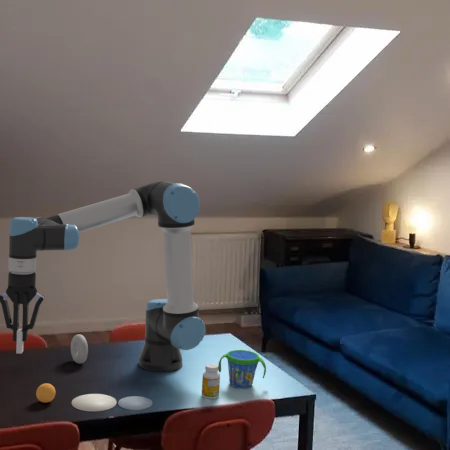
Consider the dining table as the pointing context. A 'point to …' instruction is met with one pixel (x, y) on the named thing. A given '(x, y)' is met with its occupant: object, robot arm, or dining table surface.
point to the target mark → (94, 402)
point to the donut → (79, 348)
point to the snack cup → (242, 367)
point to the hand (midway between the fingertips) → (19, 351)
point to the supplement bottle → (211, 382)
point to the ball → (45, 393)
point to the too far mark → (135, 403)
